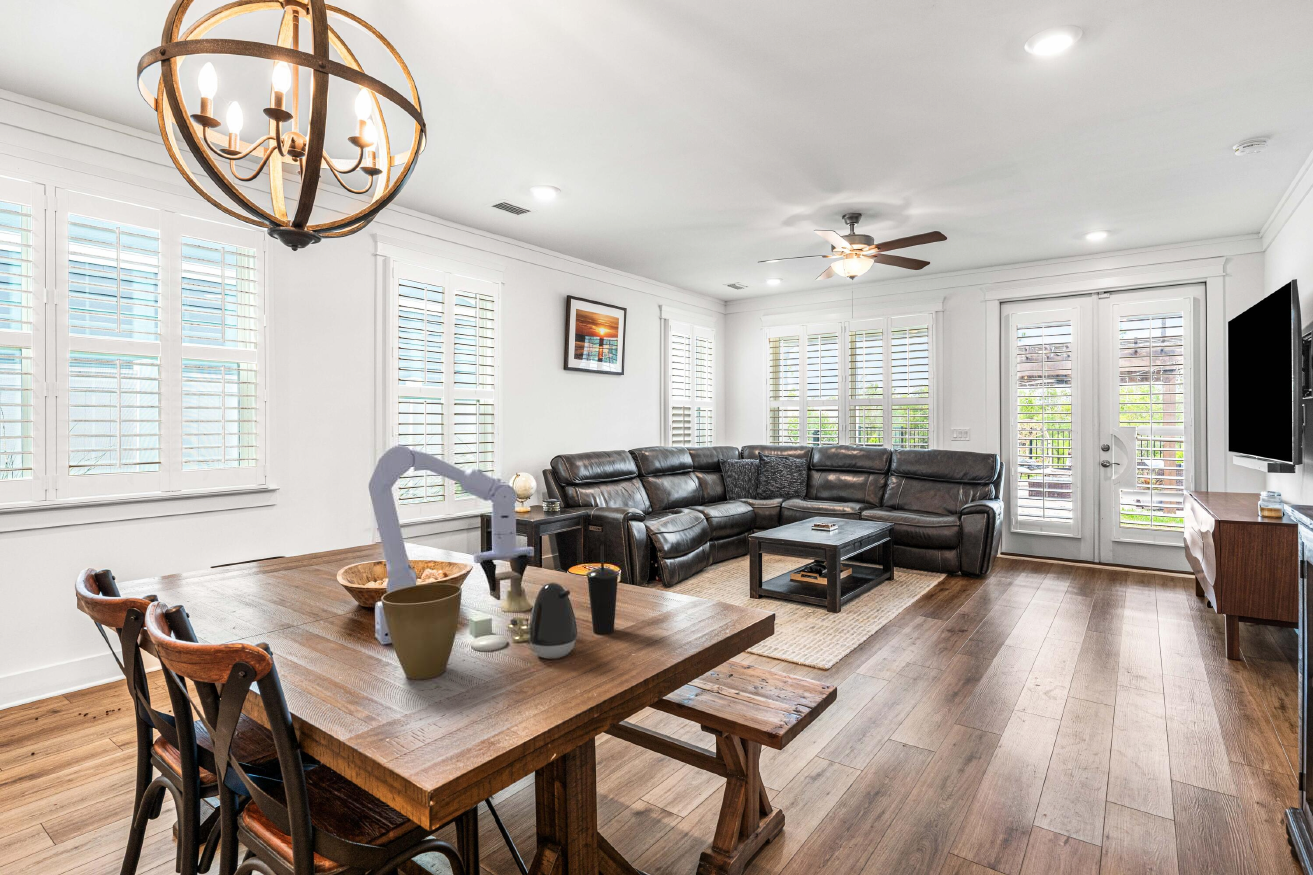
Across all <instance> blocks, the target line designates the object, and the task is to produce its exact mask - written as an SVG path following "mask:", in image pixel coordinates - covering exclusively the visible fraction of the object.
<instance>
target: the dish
mask: <svg viewBox="0 0 1313 875" xmlns="http://www.w3.org/2000/svg"><path fill="white" fill-rule="evenodd" d="M507 641H508V638H507V637H506V636H505V635H499V634H492V635H487V636H481V637H478V638H474V639H472V640H471V643H470V644H471V649H472V650H473V651H477V652H491V651H495V650H496V651H497V650H500V649H502V648H505V647H506V646H507V644H508V642H507Z"/></svg>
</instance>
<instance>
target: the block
mask: <svg viewBox="0 0 1313 875" xmlns="http://www.w3.org/2000/svg"><path fill="white" fill-rule="evenodd" d="M468 621H469V622H468V626H469V633H468V634H469V635H470V636H471V637H473V638H474V639H475V638H478V637H481V636H487V635H493V620H492V617H491V616H489V615H488V614H486V613H484V614H479V615H474V616H469V617H468Z"/></svg>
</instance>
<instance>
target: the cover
mask: <svg viewBox="0 0 1313 875" xmlns="http://www.w3.org/2000/svg"><path fill="white" fill-rule="evenodd" d="M505 580H506V581H507V580H510V587H511V592H512V593H514V594H516V595H517V596H519V597H521V596H522V595H521V586H522V582H521V575H519V574H517V573H515V572H513V571H512V570H509V571H503V572H502V571H501V572H496V573H495V584H496V588H495V591H494V592H492V591H490V590H489V595H490V596H491V597H493V598H494V599H496V600H497V601H501V581H505Z"/></svg>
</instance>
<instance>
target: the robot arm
mask: <svg viewBox="0 0 1313 875" xmlns="http://www.w3.org/2000/svg"><path fill="white" fill-rule="evenodd" d="M412 467H413V472H417V471H428V472H431V473H434V474H436V475H439V476H441V477H443V478H447V479H448V480H451V481H453V482H456V483H458V484H459V486H460V489H461V491H463V492H464V493H467V494H469V495H471V496H475V497H476V498H479V499H481V500H483V501H485V502H487V501H491V503H492V506H491V508H492V513H491V548H492V549H491V550H489V551H484V552H478V553H474V554H473V563H474V564H480V567H481V568H482V570H483V572H484V573H483V574H485V577H486V580H487V583H488V587H489V592H490V591H492V592H494V591H495V588H496V584H495V573H497V572H496V570H497V564H496V563H495V562H494V561H500V560H507V559H510V558H513V563H514V571H515V573H517V574H519V575H521V583H522V582H523V578H524V574H525V571H526V568H528V565H529V563H530V557H533V556H535V548H534V547H532V546H525V547H517V518H516V517H517V516H516V502H517V500H518V495H517V493H516V490H515V488H514V487H512V486H511V485H510V484H509V483H507V482H506V481H502V479H501V478H499V477H496V478H494V477H493V476H490V475H488V474H486V473H484V470H483V469H480V468H477V470H476V468H470V469H468V470H467V469H466V470H464V469H461V468H459V467H457V466H455V465H453V464H450V463H448V462H447V461H445V460H442V459H440V458H438V457H437V456H434V455H432V454H430V453H427V452H425V451H422V450H417V449H414V448H409V447H408V446H405V445H403V444H402V445H401V444H400V445H394V446H392V447H391V448H390V447H389V448H388V449H387V450H386V451H385V453H384V454H382V456H381V457H380V458H378V461H377V464H376V466H375V469H374V471H373V473H372V475H371V478H370V480H369V482H368V491H369V496H370V500H371V505H372V507H373V512H374V516H375V521H376V525H377V529H378V530H377V531H378V534H379V538H380V541H381V546H382V550H383V554H384V560H385V565H386V572H387V577H388V578H387V583H386V587H385V589H386V593H388V592H391V591H393V590H397V589H400V588H404V587H409V586H415V585H417V582H418V574H417V571H416V570H415V569H414V567H413V566H412V565H411V563H410V559H409V556H408V554H407V551H406V546H405V541H404V537H403V533H402V529H401V528H402V527H401V525H400V521H399V516H398V515H399V514H398V511H397V507H396V503H395V498H394V494H393V491H392V490H393V489H392V488H393V486H394V485H395V484H396V482H397V481H398V480H399V478H400V477H402V476H403V475H405V474H406V473H407V472H408V471H409V470H410V469H411V468H412ZM529 556H530V557H529ZM374 621H375V622H374V624H375V635H374V636H375V638H376V639H377V640H378V641H379V643H380V644H381V645H388V644H389V645H390V644H392V641H391V638H390V634H389V631H388V627H387V624H386V619H385V615H384V610H383V605H382V600H380V601H377V602H375V606H374Z"/></svg>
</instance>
